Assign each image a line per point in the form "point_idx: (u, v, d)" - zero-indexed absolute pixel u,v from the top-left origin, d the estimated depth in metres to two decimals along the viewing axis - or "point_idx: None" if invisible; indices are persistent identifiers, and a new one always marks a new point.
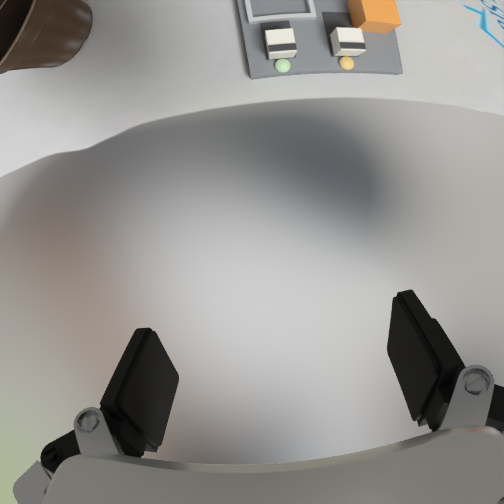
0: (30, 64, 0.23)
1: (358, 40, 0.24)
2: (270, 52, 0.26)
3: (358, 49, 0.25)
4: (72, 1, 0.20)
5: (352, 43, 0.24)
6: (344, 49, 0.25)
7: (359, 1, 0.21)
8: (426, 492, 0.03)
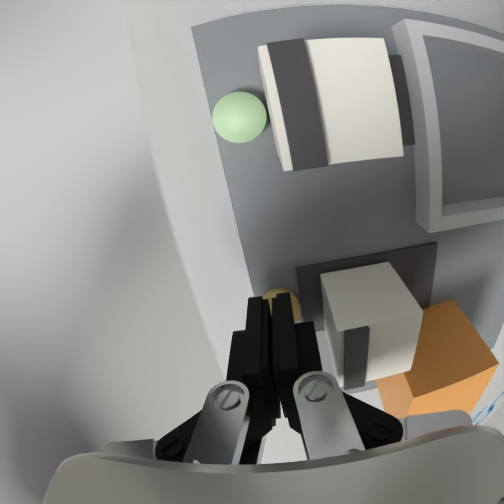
0: None
1: (372, 370, 0.09)
2: (264, 49, 0.05)
3: (342, 371, 0.09)
4: None
5: (362, 361, 0.09)
6: (340, 340, 0.09)
7: (468, 365, 0.09)
8: (426, 492, 0.03)
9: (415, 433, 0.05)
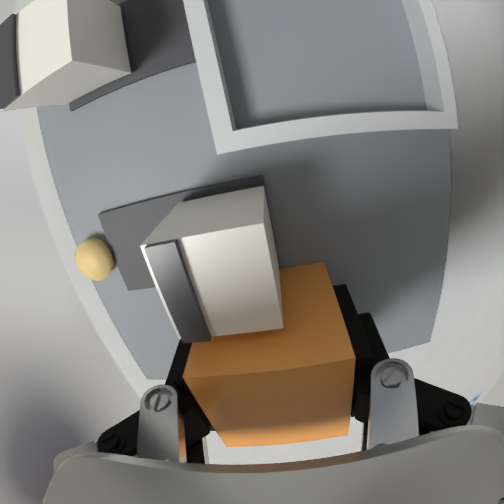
0: None
1: (216, 317, 0.07)
2: None
3: None
4: None
5: (187, 298, 0.07)
6: (149, 261, 0.07)
7: (293, 350, 0.07)
8: (426, 492, 0.03)
9: (479, 421, 0.05)
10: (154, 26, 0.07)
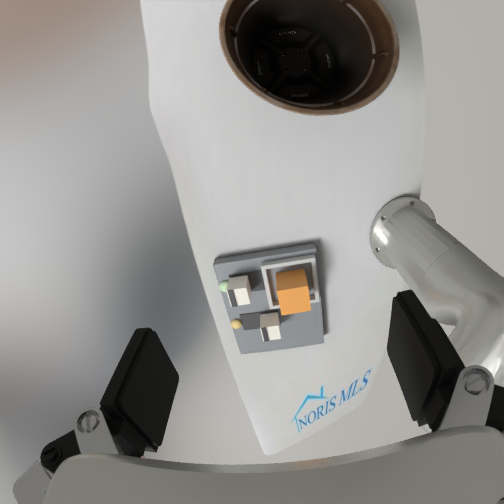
0: (242, 57, 0.26)
1: (270, 337, 0.46)
2: (227, 291, 0.42)
3: None
4: None
5: (266, 334, 0.46)
6: (261, 329, 0.46)
7: (296, 285, 0.41)
8: (426, 492, 0.03)
9: None
10: (256, 281, 0.46)
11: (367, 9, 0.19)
